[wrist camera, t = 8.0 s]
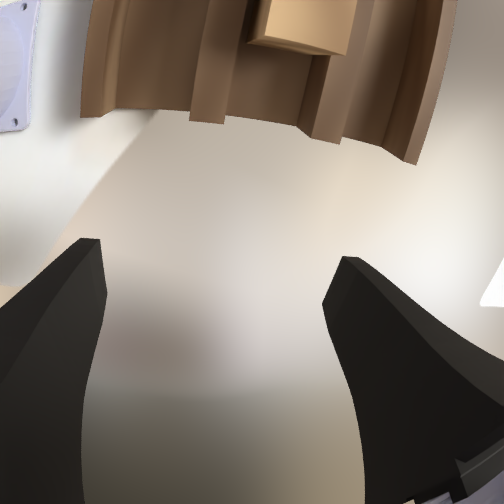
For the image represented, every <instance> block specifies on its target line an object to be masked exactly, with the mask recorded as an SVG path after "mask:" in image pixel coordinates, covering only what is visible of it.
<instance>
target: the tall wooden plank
mask: <svg viewBox="0 0 504 504" xmlns="http://www.w3.org/2000/svg"><path fill="white" fill-rule="evenodd" d="M356 4H357V0H255V2H254V7H253V12H252V17H251V22H250V27H249V32H248V37H247V42H246V43H248V44H255V45H260V46H266V47H271V48H276V49H281V50H286V51H291V52H295V53H299V54H303V55H342V56H346V52H347V48H348V43H349V38H350V34H351V29H352V24H353V19H354V14H355V9H356Z"/></svg>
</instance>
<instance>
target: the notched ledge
mask: <svg viewBox="0 0 504 504" xmlns="http://www.w3.org/2000/svg"><path fill="white" fill-rule="evenodd" d="M254 2H255V0H94V1H93V5H92V11H91V16H90V22H89V28H88V34H87V41H86V49H85V57H84V66H83V77H82V91H81V113H80V118H89V117H102V116H103V115H105V114H107V113H108V112H110V111H112V110H113V109H115V108H138V109H162V110H178V111H190V117H189V121H197V122H207V123H217V124H224V119H225V115H228V116H237V117H243V118H250V119H257V120H263V121H269V122H275V123H281V124H287V125H292V126H297V127H298V128H299V129H300V130H301V131H303V132H304V133H305V134H306V135H307V136H309V137H310V138H312V139H317V140H322V141H326V142H331V143H335V144H340V141H341V137H346V138H350V139H354V140H358V141H362V142H366V143H369V144H373V145H376V146H380V147H382V148H383V149H385V150H387V151H388V152H390V153H391V154H393V155H394V156H396V157H397V158H399V159H400V160H402V161H403V162H407V163H410V164H413V165H416V164H417V161H418V158H419V155H420V153H421V150H422V146H423V144H424V141H425V138H426V134H427V131H428V128H429V124H430V121H431V118H432V115H433V111H434V108H435V105H436V101H437V97H438V94H439V90H440V86H441V82H442V78H443V74H444V70H445V65H446V61H447V57H448V52H449V47H450V42H451V36H452V32H453V26H454V19H455V13H456V7H457V0H357V4H356V9H355V14H354V19H353V24H352V29H351V34H350V38H349V43H348V48H347V52H346V56H342V55H303V54H299V53H295V52H291V51H286V50H281V49H276V48H271V47H266V46H260V45H255V44H248V43H246V42H247V37H248V32H249V27H250V22H251V17H252V12H253V7H254Z"/></svg>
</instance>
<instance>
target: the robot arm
mask: <svg viewBox="0 0 504 504" xmlns="http://www.w3.org/2000/svg"><path fill="white" fill-rule="evenodd" d="M26 4H27V8H26V9H25V10H23V8H24V6H25V5H26ZM40 4H41V1H40V0H21V1H17V2H14V3H11V4H8V5H5V6H2V7H0V132H7V131H16V130H23V129H25V128H27V127H28V126H29V124H30V97H31V73H32V60H33V50H34V41H35V34H36V27H37V21H38V15H39V9H40ZM15 118H16V119H17V120H18V125H16V124H15ZM106 298H107V288H106V282H105V275H104V268H103V261H102V253H101V244H100V239H89V238H80V239H79V240H77V241H76V242H75V243H73V244H72V245H71V246H70V247H69V248H68V249H66V250H65V251H64V252H63V253H62V254H61V255H60V256H59V257H57V258H56V259H55V260H54V261H53V262H52V263H51V264H50V265H48V266H47V267H46V268H45V269H44V270H43V271H42V272H41V273H40V274H39V275H37V276H36V277H35V278H34V279H33V280H32V281H31V282H30V283H28V284H27V285H26V286H25V287H24V288H23V289H22V290H20V291H19V292H18V293H17V294H16V295H15V296H14V297H13V298H12V299H10V300H9V301H8V302H7V303H6V304H5V305H3V306H2V307H1V308H0V504H85V501H84V493H83V484H82V467H81V429H82V414H83V403H84V396H85V390H86V384H87V380H88V376H89V372H90V368H91V364H92V360H93V356H94V352H95V348H96V345H97V341H98V337H99V333H100V330H101V326H102V322H103V316H104V310H105V305H106ZM322 306H323V311H324V316H325V320H326V324H327V328H328V332H329V335H330V337H331V340H332V343H333V345H334V348H335V351H336V354H337V356H338V359H339V362H340V364H341V367H342V370H343V372H344V375H345V378H346V380H347V383H348V386H349V389H350V392H351V395H352V399H353V403H354V407H355V411H356V416H357V421H358V426H359V432H360V438H361V443H362V452H363V461H364V473H365V504H403V503H406V502H408V501H410V500H413V499H414V502H415V504H504V361H503V360H501V359H499V358H497V357H495V356H493V355H491V354H489V353H488V352H486V351H484V350H482V349H481V348H479V347H477V346H476V345H474V344H472V343H470V342H469V341H468V340H466V339H464V338H463V337H461V336H460V335H458V334H457V333H456V332H454V331H453V330H451V329H450V328H448V327H447V326H446V325H444V324H443V323H442V322H440V321H439V320H438V319H436V318H435V317H434V316H432V315H431V314H430V313H429V312H427V311H426V310H425V309H424V308H422V307H421V306H420V305H418V304H417V303H416V302H415V301H414V300H412V299H411V298H410V297H409V296H407V295H406V294H405V293H404V292H403V291H402V290H400V289H399V288H398V287H397V286H396V285H394V284H393V283H392V282H391V281H390V280H388V279H387V278H386V277H385V276H383V275H382V274H381V273H380V272H378V271H377V270H376V269H374V268H373V267H372V266H370V265H369V264H368V263H366V262H365V261H364V260H362V259H360V258H359V257H347V256H342V258H341V261H340V263H339V266H338V268H337V270H336V273H335V275H334V277H333V280H332V282H331V284H330V286H329V289H328V291H327V293H326V296H325V298H324V300H323V303H322Z"/></svg>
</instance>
